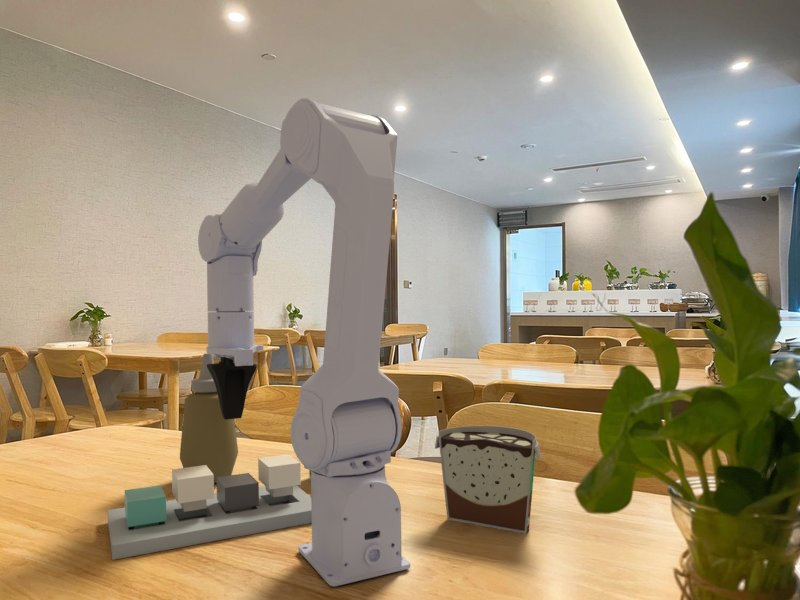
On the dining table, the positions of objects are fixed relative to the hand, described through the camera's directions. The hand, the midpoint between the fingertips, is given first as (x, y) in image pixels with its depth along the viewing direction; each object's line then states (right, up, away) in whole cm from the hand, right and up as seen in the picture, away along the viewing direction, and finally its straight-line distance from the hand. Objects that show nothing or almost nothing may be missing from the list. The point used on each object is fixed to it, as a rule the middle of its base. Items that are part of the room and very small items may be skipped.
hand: (232, 418), depth 78 cm
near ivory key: (+7, -8, -4) cm, 11 cm away
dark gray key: (+2, -10, -7) cm, 12 cm away
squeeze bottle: (-6, -11, +9) cm, 15 cm away
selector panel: (0, -10, -8) cm, 13 cm away
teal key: (-6, -10, -11) cm, 16 cm away
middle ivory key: (-2, -8, -9) cm, 12 cm away
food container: (+32, -10, -8) cm, 35 cm away
